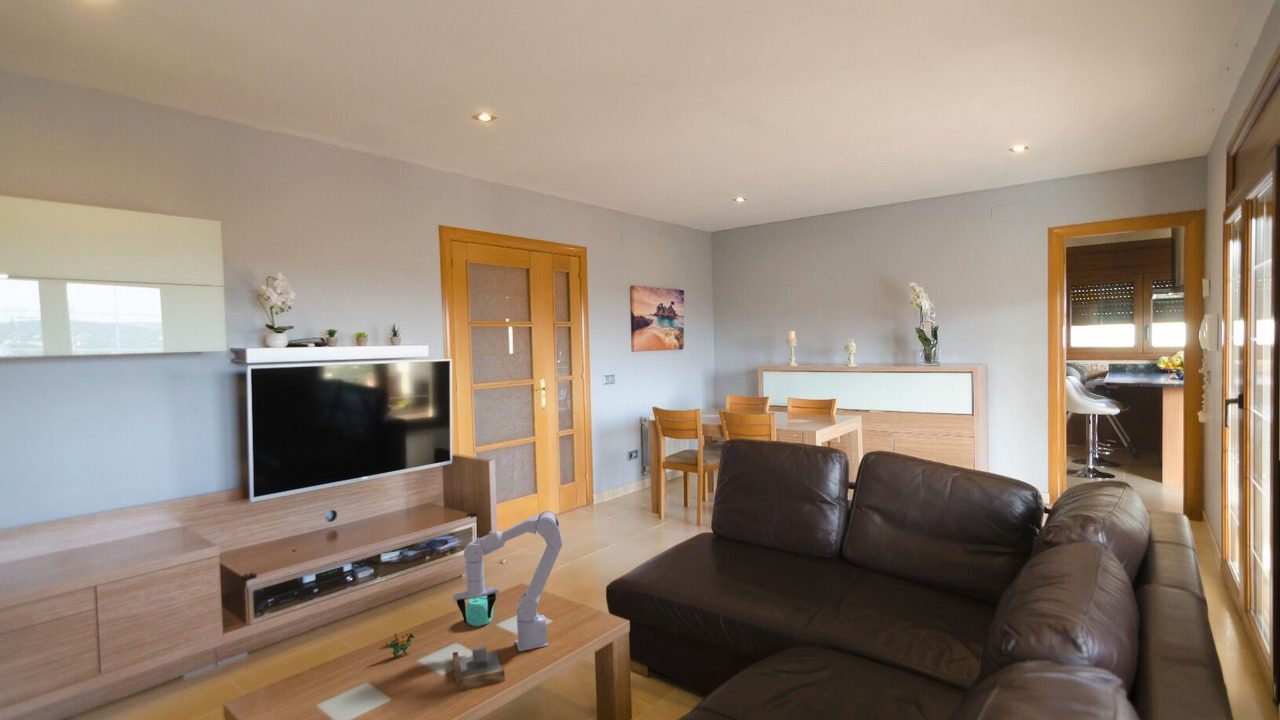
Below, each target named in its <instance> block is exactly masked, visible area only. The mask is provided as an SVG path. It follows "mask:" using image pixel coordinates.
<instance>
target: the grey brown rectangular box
mask: <svg viewBox="0 0 1280 720" xmlns="http://www.w3.org/2000/svg"><path fill="white" fill-rule="evenodd" d="M486 653H487V667H485V668H480V669H475V670H474V668H473V664H472V657H471V656H466V657H462V658H459V662H460V667H461V673H462V677H464V676H469V675H473V674H478V673H483V672H488V671H492V670H497V669H502V668H503V667H502V665H501V662H500V659H499V656H498V653H497V651H491V652H486Z"/></svg>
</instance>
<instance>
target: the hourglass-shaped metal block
mask: <svg viewBox="0 0 1280 720" xmlns="http://www.w3.org/2000/svg"><path fill="white" fill-rule="evenodd" d="M471 649H472V650H471V651H472V652H471V653H472V654H471V656H470V657H472V664H473V668H474V670H475V669H480V668H485V667H487V653H488V652H487V646H486V644H483V645H479V646H475V647H472V648H471Z"/></svg>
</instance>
